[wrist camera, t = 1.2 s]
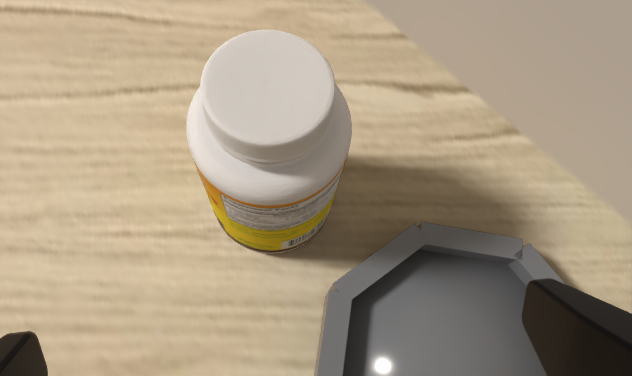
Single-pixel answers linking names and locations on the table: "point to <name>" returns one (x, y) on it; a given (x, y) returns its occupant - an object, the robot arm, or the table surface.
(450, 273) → the dish
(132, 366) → the table surface
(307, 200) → the supplement bottle
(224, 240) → the table surface
